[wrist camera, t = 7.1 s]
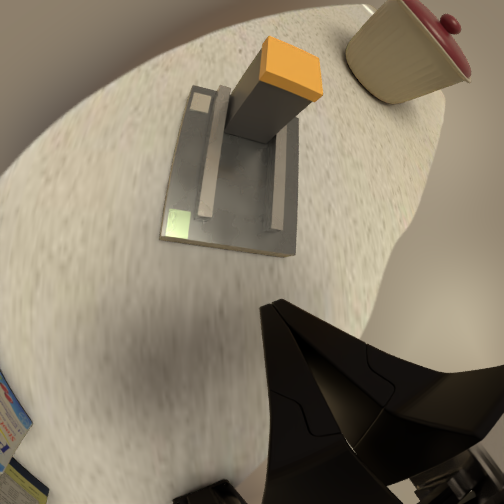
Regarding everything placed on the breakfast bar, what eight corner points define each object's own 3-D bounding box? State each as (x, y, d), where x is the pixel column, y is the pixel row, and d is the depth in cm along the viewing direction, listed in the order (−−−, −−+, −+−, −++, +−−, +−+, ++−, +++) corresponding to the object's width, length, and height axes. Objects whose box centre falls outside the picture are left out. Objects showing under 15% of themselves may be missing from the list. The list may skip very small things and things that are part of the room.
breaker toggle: (266, 145, 23) (323, 95, 15) (221, 132, 21) (265, 70, 14) (268, 109, 23) (319, 58, 16) (227, 96, 22) (268, 35, 14)
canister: (309, 43, 31) (399, -37, 12) (355, 37, 38) (424, -15, 18) (384, 134, 34) (497, 80, 15) (411, 106, 41) (490, 67, 22)
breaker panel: (283, 257, 25) (305, 253, 21) (159, 239, 20) (163, 231, 17) (288, 127, 27) (306, 111, 23) (187, 97, 22) (196, 75, 19)
